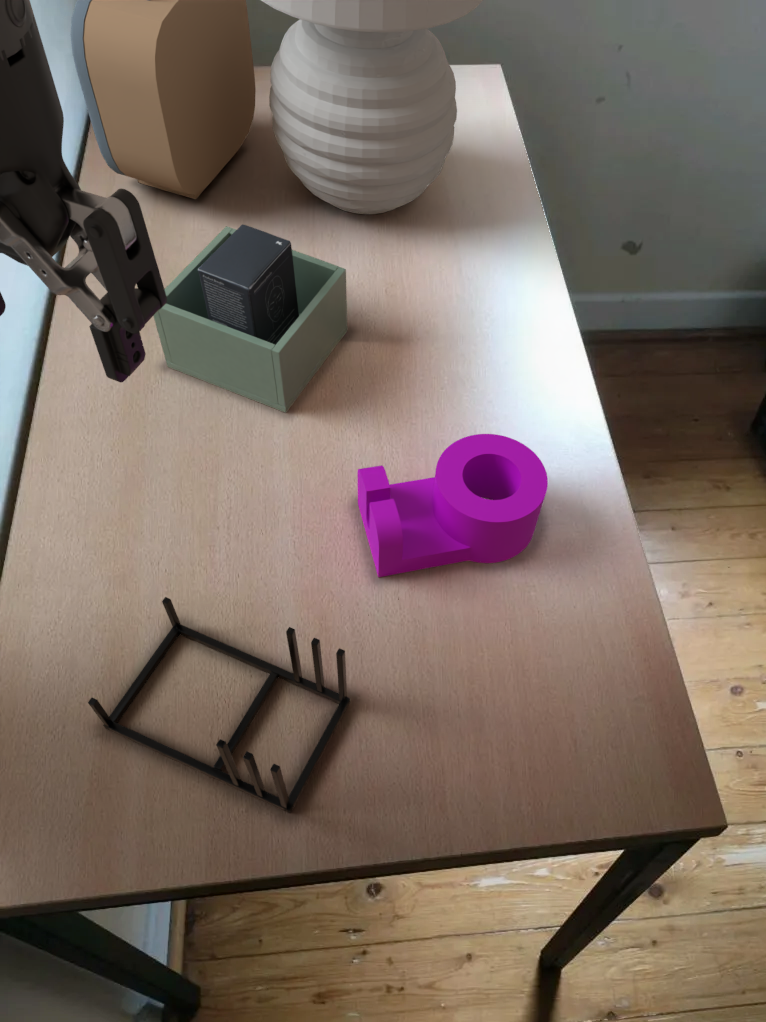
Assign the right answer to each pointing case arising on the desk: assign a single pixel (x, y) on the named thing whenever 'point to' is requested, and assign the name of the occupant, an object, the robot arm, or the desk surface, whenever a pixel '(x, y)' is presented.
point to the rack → (229, 748)
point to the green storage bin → (246, 358)
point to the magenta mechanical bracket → (455, 507)
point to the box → (251, 284)
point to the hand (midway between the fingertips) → (57, 344)
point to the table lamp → (365, 98)
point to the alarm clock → (166, 86)
